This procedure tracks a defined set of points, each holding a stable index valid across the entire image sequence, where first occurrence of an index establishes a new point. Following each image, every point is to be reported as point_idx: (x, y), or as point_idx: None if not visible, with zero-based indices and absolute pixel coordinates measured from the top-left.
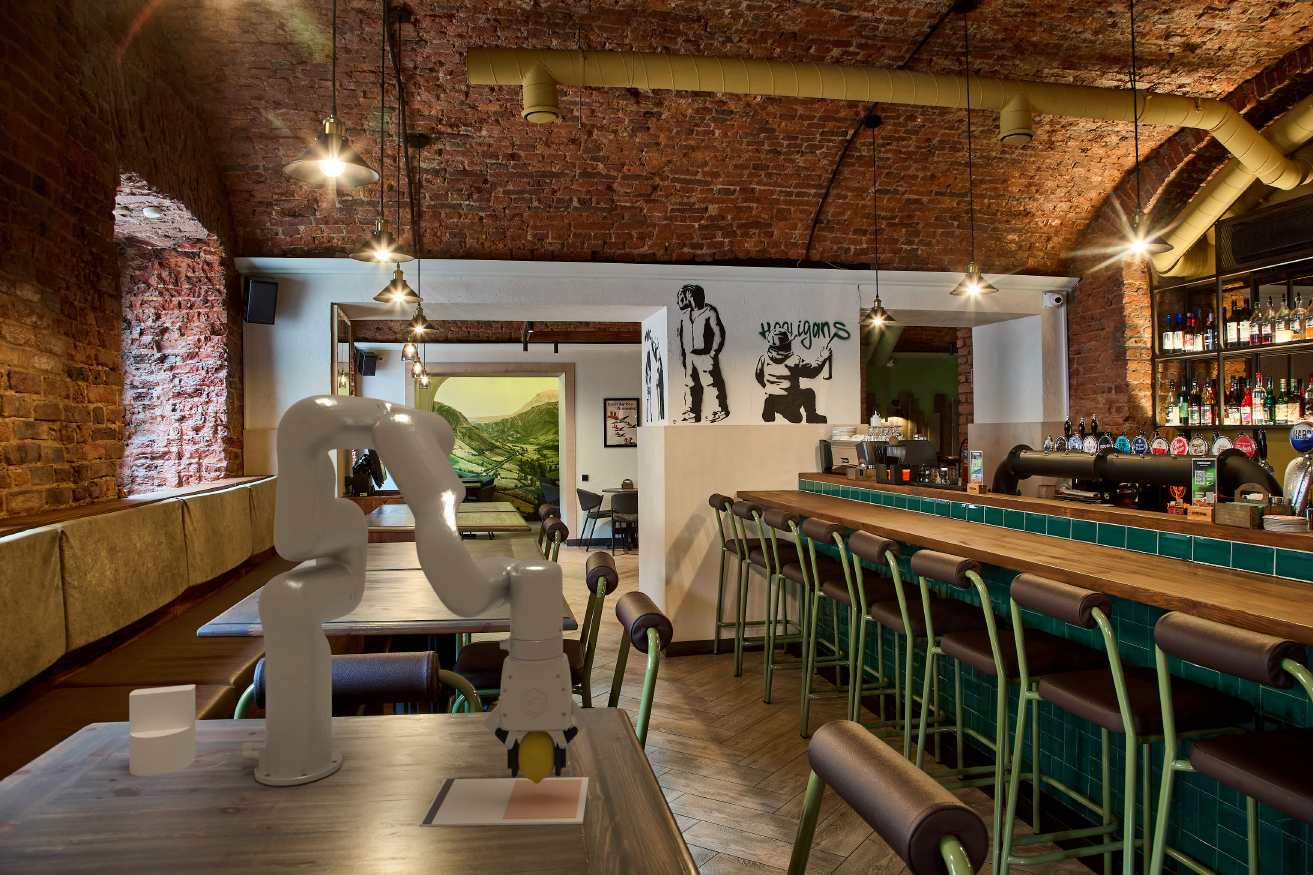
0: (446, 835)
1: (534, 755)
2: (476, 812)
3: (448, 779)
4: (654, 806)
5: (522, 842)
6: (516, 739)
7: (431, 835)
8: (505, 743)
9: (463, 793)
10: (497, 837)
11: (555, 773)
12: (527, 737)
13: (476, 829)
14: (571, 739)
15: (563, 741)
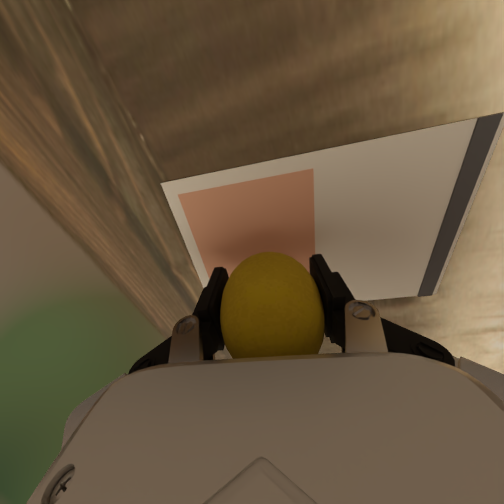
0: (434, 75)
1: (263, 279)
2: (370, 188)
3: (429, 292)
4: (90, 253)
5: (246, 74)
6: (339, 342)
7: (474, 67)
8: (377, 313)
9: (400, 254)
10: (308, 89)
11: (223, 269)
12: (300, 339)
13: (362, 122)
14: (162, 343)
15: (184, 334)
